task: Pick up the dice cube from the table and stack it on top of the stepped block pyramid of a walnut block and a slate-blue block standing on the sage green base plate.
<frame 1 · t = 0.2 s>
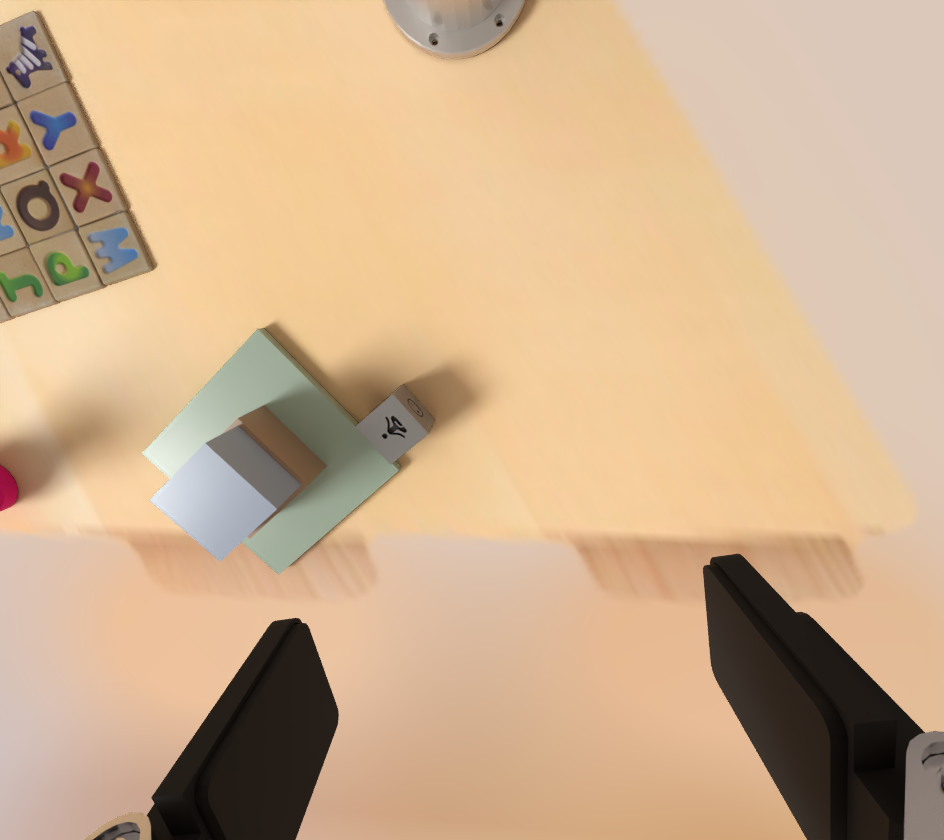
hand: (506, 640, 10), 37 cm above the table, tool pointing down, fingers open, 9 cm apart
stepped block pyramid: (274, 458, 49), on the table
dice cube: (402, 415, 48), on the table
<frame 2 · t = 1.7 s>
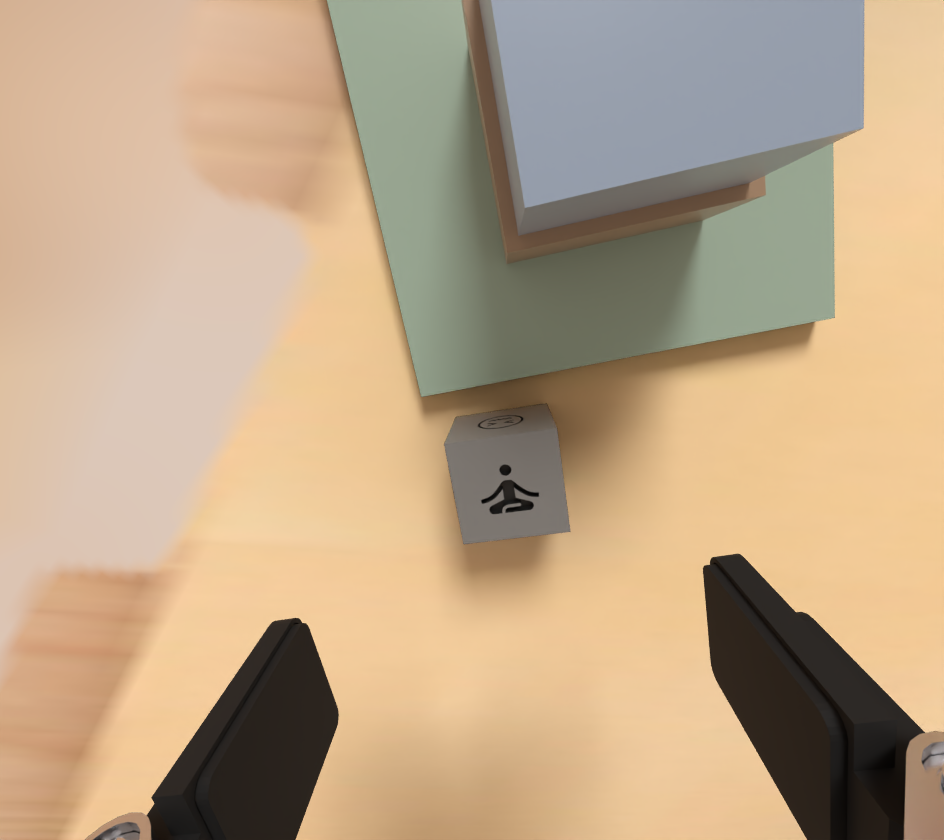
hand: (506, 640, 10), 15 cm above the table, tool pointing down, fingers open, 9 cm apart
stepped block pyramid: (583, 144, 21), on the table
dice cube: (507, 451, 25), on the table
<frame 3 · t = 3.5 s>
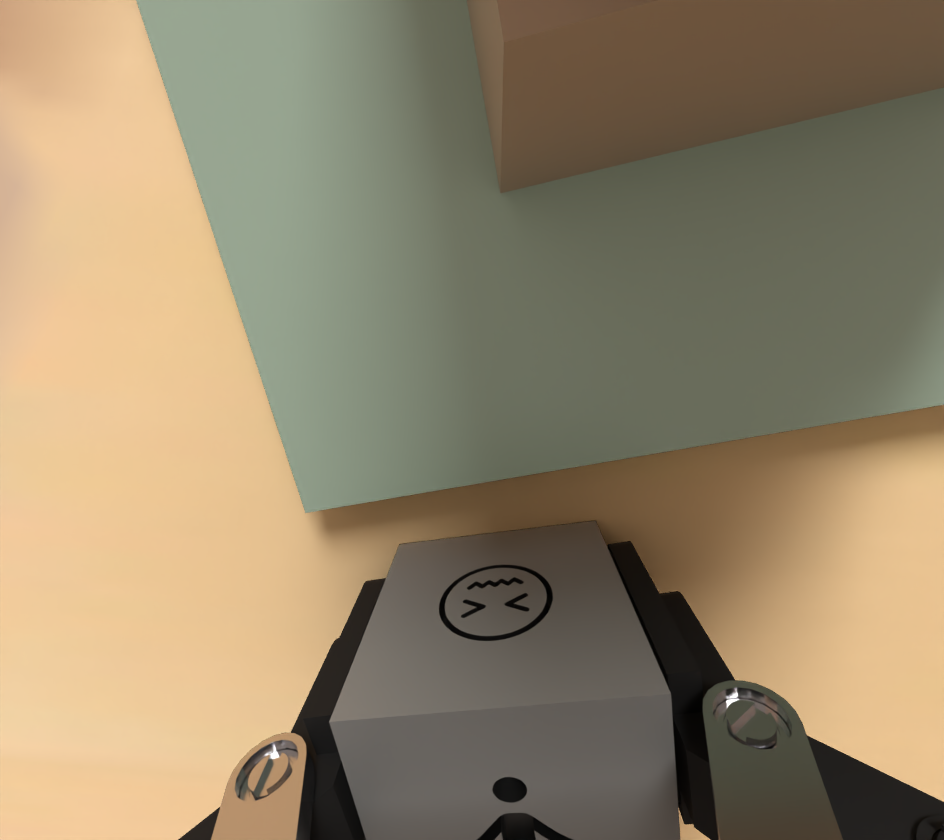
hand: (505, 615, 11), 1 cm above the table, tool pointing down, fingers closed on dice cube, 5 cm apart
dice cube: (509, 610, 12), on the table, touching gripper
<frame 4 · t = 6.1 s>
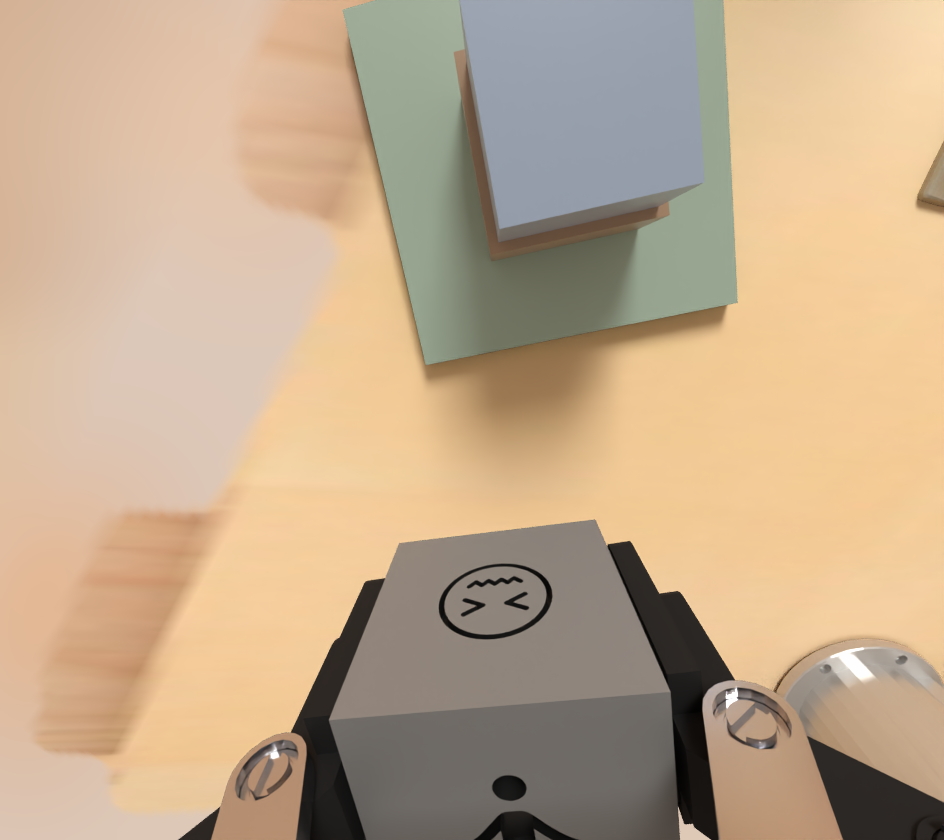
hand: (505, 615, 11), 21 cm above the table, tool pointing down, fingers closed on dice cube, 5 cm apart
stepped block pyramid: (549, 170, 27), on the table
dice cube: (509, 609, 12), point 20 cm above the table, touching gripper
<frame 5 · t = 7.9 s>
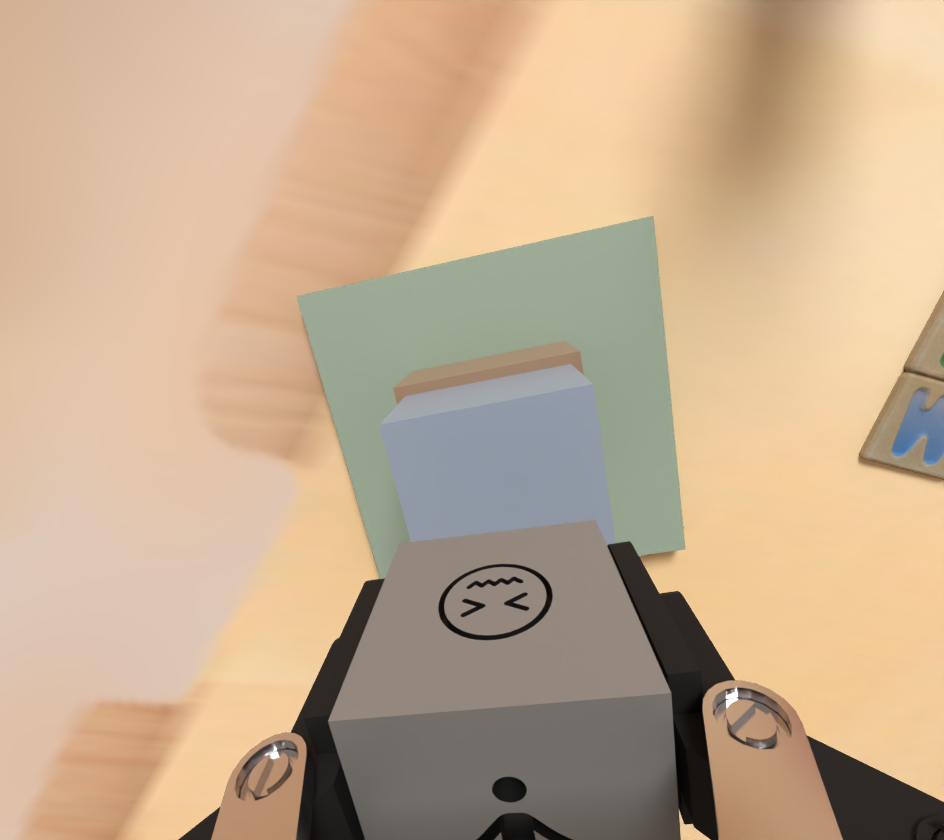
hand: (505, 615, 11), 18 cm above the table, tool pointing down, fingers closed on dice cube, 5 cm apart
stepped block pyramid: (501, 424, 28), on the table
dice cube: (509, 610, 12), point 17 cm above the table, touching gripper
when the fingers open (12 cm above the table, at t = 9.1 s): dice cube stays where it is, resting on stepped block pyramid.
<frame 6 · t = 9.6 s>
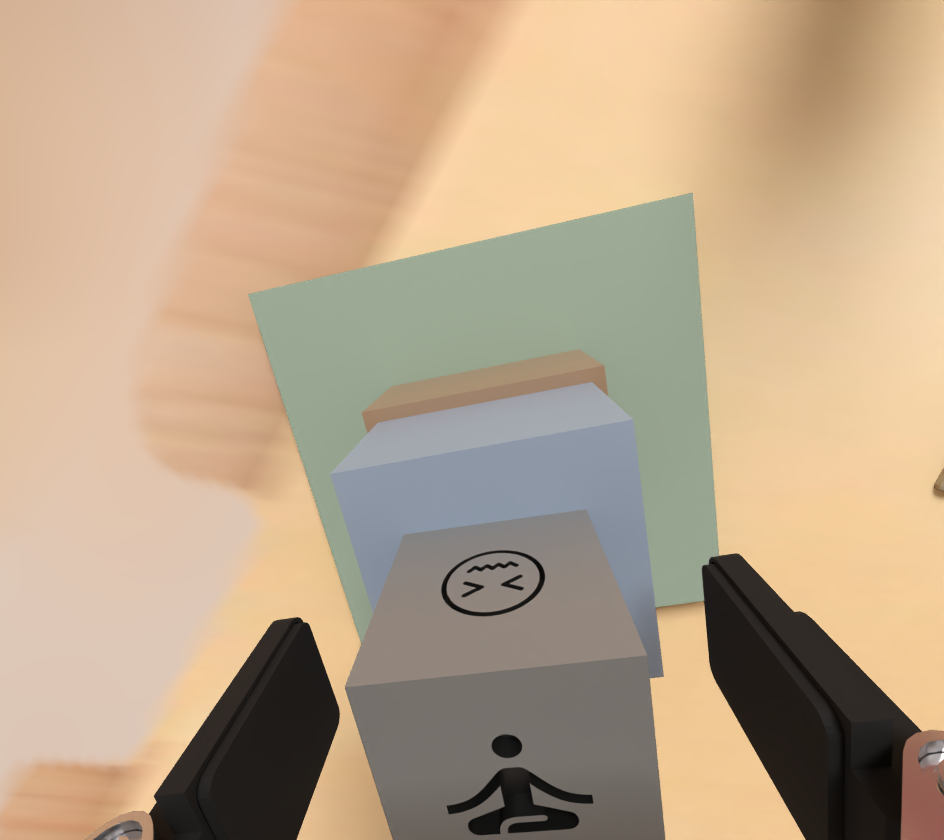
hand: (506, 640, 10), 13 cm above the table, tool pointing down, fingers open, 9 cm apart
stepped block pyramid: (500, 448, 23), on the table
dice cube: (507, 595, 13), point 11 cm above the table, touching stepped block pyramid
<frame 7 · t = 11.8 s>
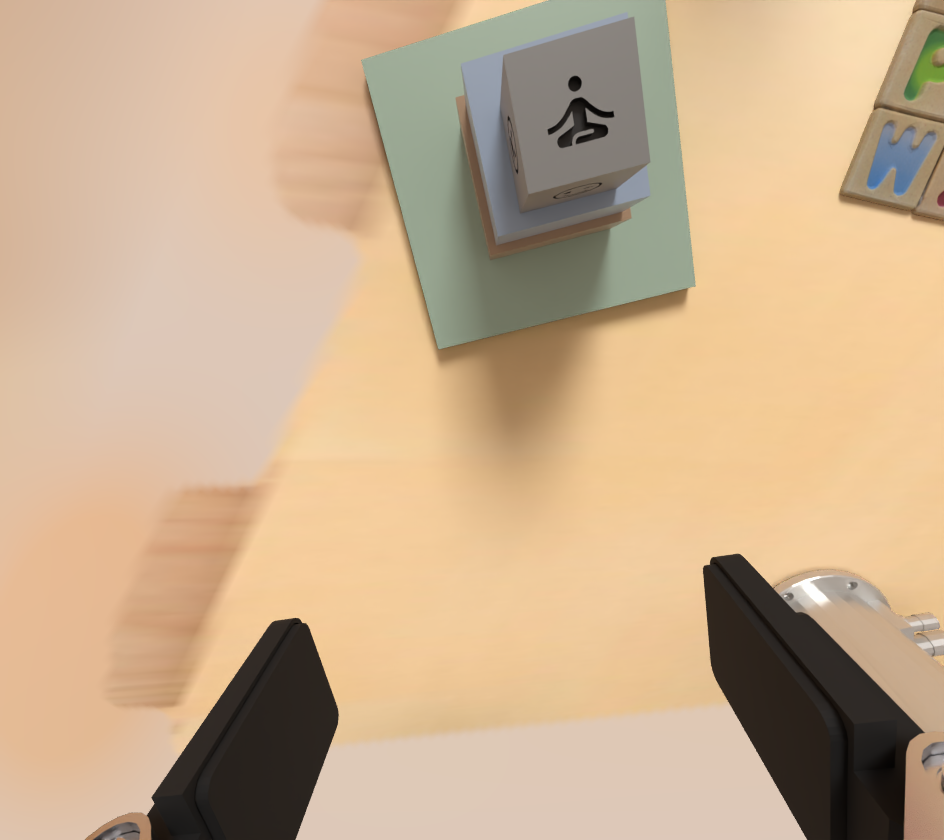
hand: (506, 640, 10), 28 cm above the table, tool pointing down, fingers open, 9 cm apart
stepped block pyramid: (535, 182, 33), on the table
dice cube: (558, 149, 23), point 11 cm above the table, touching stepped block pyramid
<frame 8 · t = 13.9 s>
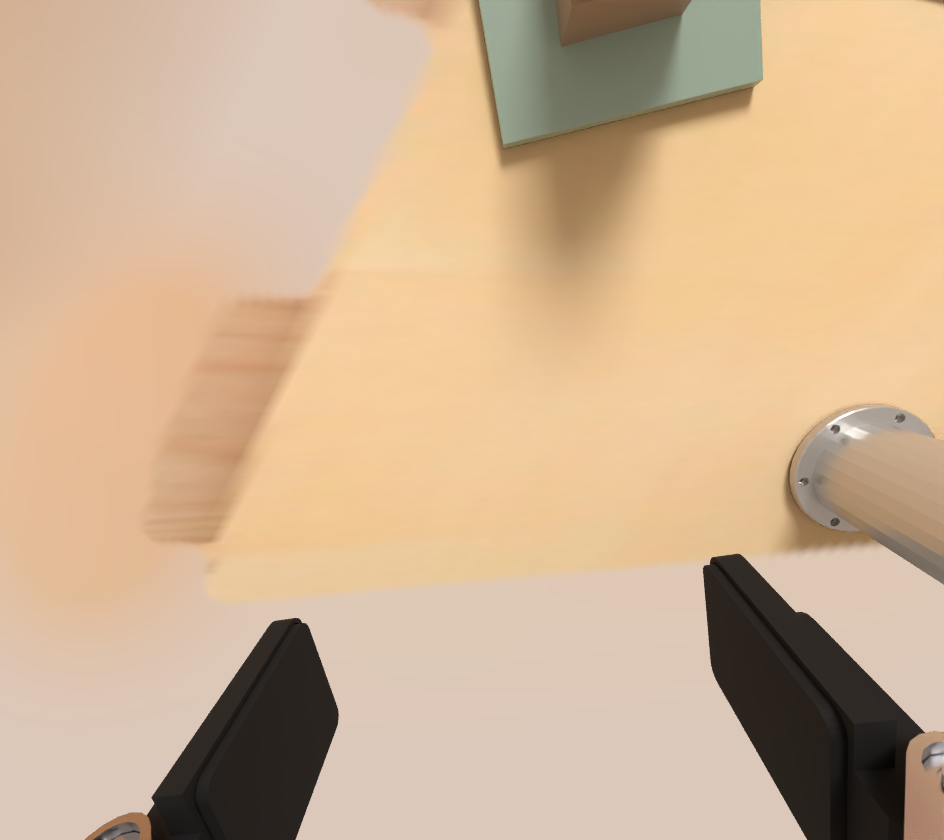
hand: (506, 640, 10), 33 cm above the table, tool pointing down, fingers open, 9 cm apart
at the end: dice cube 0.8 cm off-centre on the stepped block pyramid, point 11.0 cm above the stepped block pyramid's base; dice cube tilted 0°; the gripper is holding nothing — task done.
